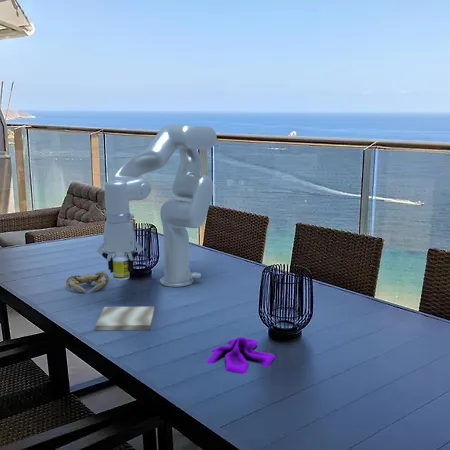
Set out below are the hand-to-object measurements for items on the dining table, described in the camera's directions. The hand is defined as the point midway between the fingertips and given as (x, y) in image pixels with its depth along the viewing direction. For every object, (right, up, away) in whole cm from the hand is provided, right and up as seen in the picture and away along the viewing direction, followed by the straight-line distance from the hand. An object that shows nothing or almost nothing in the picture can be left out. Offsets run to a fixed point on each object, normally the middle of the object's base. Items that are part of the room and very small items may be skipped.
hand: (121, 270), depth 179 cm
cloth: (+37, -20, -38) cm, 57 cm away
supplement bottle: (0, -3, +1) cm, 3 cm away
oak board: (+4, -14, -13) cm, 20 cm away
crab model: (-16, -8, +18) cm, 25 cm away
